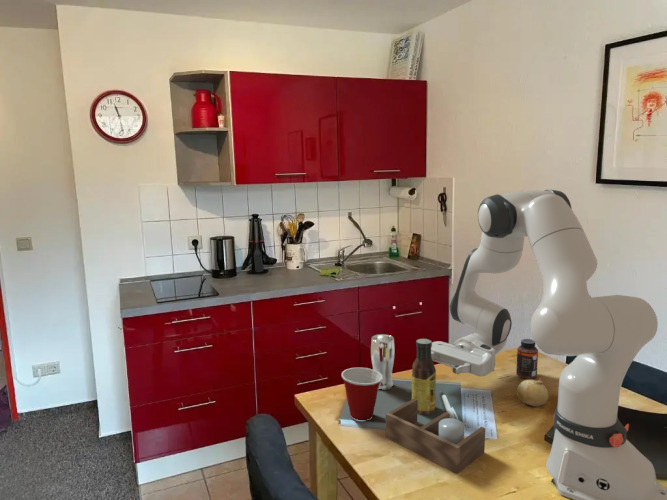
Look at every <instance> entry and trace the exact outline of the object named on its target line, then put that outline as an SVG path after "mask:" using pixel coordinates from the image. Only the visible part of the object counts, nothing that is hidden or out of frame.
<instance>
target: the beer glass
mask: <svg viewBox="0 0 667 500" xmlns="http://www.w3.org/2000/svg"><path fill="white" fill-rule="evenodd" d="M370 340H371V342H370V343H371V344H370V358H371V364H372V369H373V370H375V371H378V372H379V373H380V374H382V377H383V379H382V380H381V382H380V385H379V388H378V389H382V390H381V391H387V390H386V389H388V390H390V389H389V388H391V387H392V386H393V387H394V382H393V375H392V374H393V367H394V361H395V338H394V336H392V335H389V334H384V333H382V334H381V333H380V334H375V335H373V336H371V339H370ZM393 387H392V388H393ZM392 388H391V389H392ZM384 389H385V390H384Z"/></svg>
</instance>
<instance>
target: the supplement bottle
mask: <svg viewBox="0 0 667 500" xmlns="http://www.w3.org/2000/svg"><path fill="white" fill-rule="evenodd" d="M516 351H517V352H516V369H515V370H516V375H517V376H518V377H519V378H521V379H524V380H528V379H529V380H535V378H537V376H538V362H539V361H538V360H539V349H538V348H537V347H536V343H535V342H534V340H533V339H532V338H522V339H521V341H520V345H518V347H517V350H516Z"/></svg>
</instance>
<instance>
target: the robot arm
mask: <svg viewBox="0 0 667 500" xmlns="http://www.w3.org/2000/svg"><path fill="white" fill-rule="evenodd" d="M477 221H478V225H479V227H480V229H481V236H480V243H479V246H478V247H477V248H474V249H472V250H471V251H470V252H469V254H468V255H467V257H466V259H465V262H464V264H463V268H462V269H461V274H460V277H459V279H458V282H457V283H458V284H457V287H456V289H455V293H454V295H453V296H452V298H451V300H450V302H449V303H450V304H449V313H450V315H451V317H452V319H453V320H454V321H456V322H459V323H461V324H463V325H466V326H468V327H469V328H471V329H474V332H472V333H471V334H467V335H464V336H463V337H460V338H459V339H456V340H455V341H454V342H453V344H451V343H449V342H444V341H440V340H439V341H438V340H437V341H433V342H432V347H431V358H432V361H433V362H436V363H439V364H442V365H445V366H448V367H451V368H452V374H454V375H455V374H456V375H460V374H467V373H468V374H471V375H474V376H477V377H486V376H487V375H490V373H492V372H494V371H495V366H496V355H498V354H499V353H500V352H501V351H502V350H503V349H504V348H505V346H506V343H507V340H508V337H509V335H510V334H511V333H510V332H511V329H512V323H513V321H512V317H511V314H510V312H509V310H508V309H507V308H505V307H503V306H501V305H499V304H497V303H495V302H492V301H490V300H488V299H486V298H484V297H482V296H480V295H479V294H478V293H477V292H476V291H475V290H476V289H475V288H476V286H477V282H478V279H479V276H480V274H502V273H506V272H509V271H510V270H512V269H514V268H516V267H517V265H518V264H519V263H520V261H521V258H522V255H523V251H524V243H525V237H527V239H528V242H529V244H530V248H531V250H532V252H533V255H534V258H535V261H536V263H537V266H538V269H539V273H540V276H541V279H542V285H543V288H542V289H543V291H542V297H541V301H540V302H539V304H538V307H537V308H536V309H535V311H534V312H533V314H532V316H531V319H530V324H529V325H530V326H529V327H530V329H529V330H530V334H531V337H532V340H534V342H535V346H537V347H538V348H539V349H540V350H541V351H542V352H544V353H545V354H547V355H554V356H555V355H556V356H562V357H563V356H565V357H574V356H575V358H574V359H573V361H571V362H570V363H569V364H568V365H566V366H565V367H564V368H563V370H562V371H561V373H560V376H559V378H558V379H559V381H558V391H557V392H558V396H557V405H556V406H555V408H554V415H553V432H554V436H553V441H552V444H551V449H550V452H549V455H548V458H547V460H546V463H545V464H546V465H545V466H546V469H547V471H548V474H550V476H551V477H552V479H551V481H552V482H553V483H554V484H555V487H556V489H557V492H558V494H560V495H561V496H563V497H566V498H568V499H572V500H667V488H666V486H664V485H663V484H661V483H660V482H658V481H657V474H656V470H655V468H654V465H653V463H652V462H651V461H650V460H649V459H648V458H647V457H646V456H644V454H642V452H640V450H639V449H637V448H636V447H635V446H634V445H633V444H632V443H631V442H630V441H629V439H627V436H628V434H627V433H628V431H629V428H630V424H629V423H627V424H625V426H624V425H623V424H622V422H621V421H620V420H619V418H618V412H619V401H620V394H621V389H622V385H623V382H624V379H625V377H626V374H627V373H628V369H630V366H631V364H632V363H633V361H634V359H635V357H636V356H637V355H638V353H640V351H641V350H642V349H643V347H645V346H646V345H647V344H648V343H649V342H650V341H652V340H653V339H654V338H655V336H656V334H657V331H658V324H659V323H658V317H657V314H656V312H655V309H654V308H653V307H652V305H651V304H650V303H649V302H647V301H646V300H645V299H643V298H641V297H637V296H636V297H635V296H630V295H622V294H621V295H620V294H614V295H604V296H595V297H594V296H593V297H592V296H591V295H590V293H589V291H588V283H587V281H588V280H589V279H591V278H592V277H593V275H594V274H595V273H596V271H597V268H598V259H597V257H596V255H595V253H594V251H593V247H592V245H591V244H590V242H589V239H588V238H587V235H586V233H585V231H584V229H583V227H582V224H581V222H580V221H579V219H578V217H577V216H576V214H575V213H574V211H573V210H572V205H571V201H570V200H569V198H568V196H567V195H566V193H564V192H563V191H560V190H556V189H545V190H525V191H524V190H518V191H517V190H516V191H512V192H506V193H502V194H498V193H497V194H493V195H490V196H487V197H485V198H483V200H482V201H481V202H480V204H479V206H478V210H477Z"/></svg>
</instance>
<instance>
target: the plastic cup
mask: <svg viewBox="0 0 667 500" xmlns="http://www.w3.org/2000/svg"><path fill="white" fill-rule="evenodd" d="M341 378H342V381H343V385H344V388H345V389H344V390H345V394H346V400H347V406H348V408H349V414H350V417H351V416H352V417H353V418H355V419H358V420H367V419H370V418H371V417H372V416H374V412H375V407H376V403H377V402H376V401H377V397H378V396H377V395H378V391H379V390H378V388H379V385H380V382H381V380H382V379H383V377H382V374H380V373H379V372H378V371H375V370H373V368H372V369H371V368H368V367H351V368H347V369H344V370H343V371H341ZM372 418H373V417H372Z"/></svg>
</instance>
